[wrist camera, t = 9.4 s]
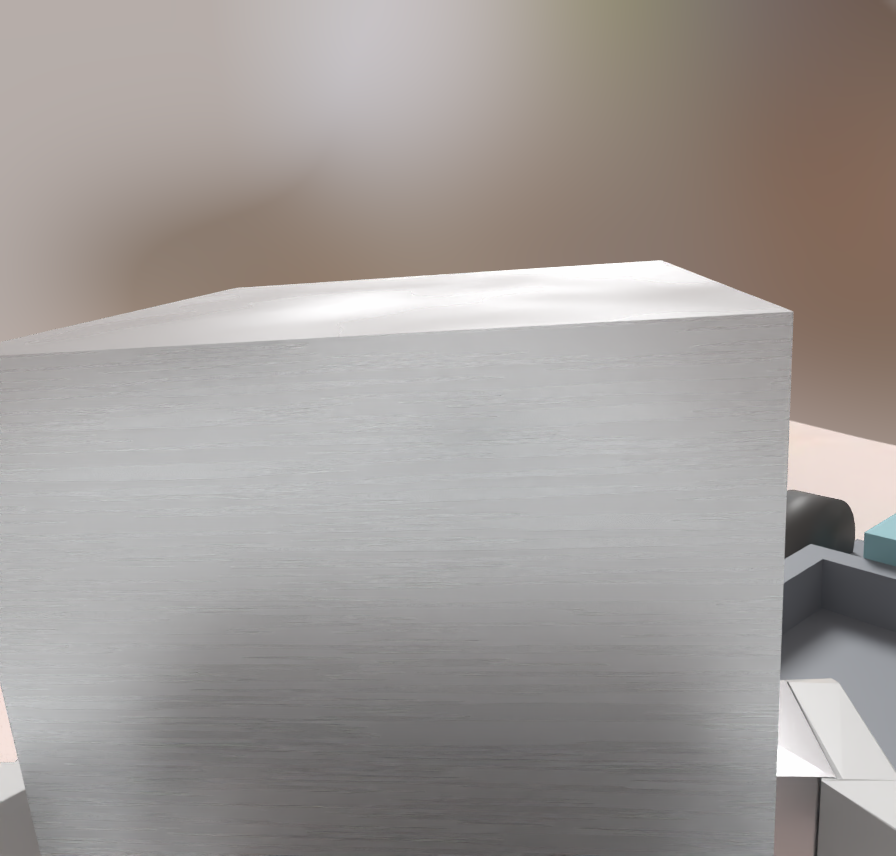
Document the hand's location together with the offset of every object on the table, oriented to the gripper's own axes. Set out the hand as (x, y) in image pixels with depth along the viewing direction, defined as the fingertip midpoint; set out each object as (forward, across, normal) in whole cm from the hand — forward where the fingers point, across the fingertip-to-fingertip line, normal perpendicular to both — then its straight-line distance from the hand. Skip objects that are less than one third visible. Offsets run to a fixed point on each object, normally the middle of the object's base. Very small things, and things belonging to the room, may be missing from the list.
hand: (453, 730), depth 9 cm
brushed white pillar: (-1, 0, +6) cm, 6 cm away
